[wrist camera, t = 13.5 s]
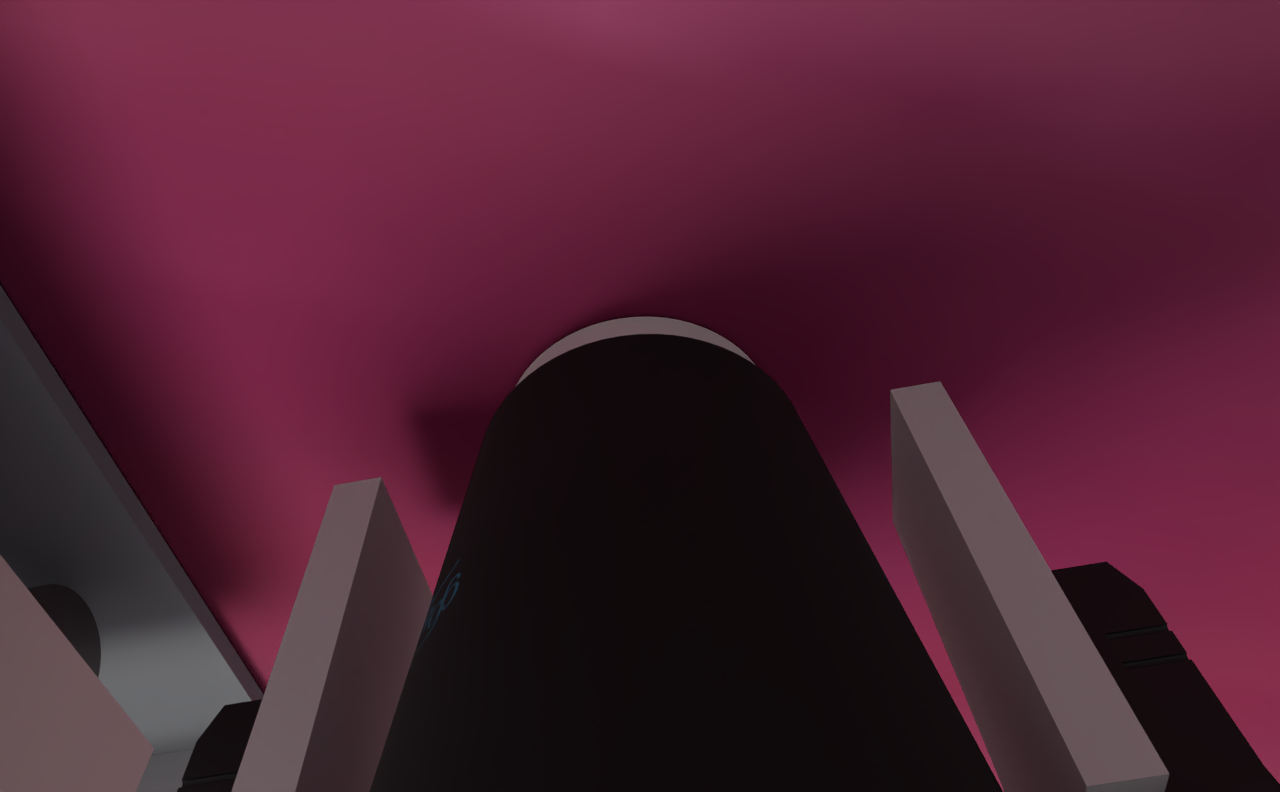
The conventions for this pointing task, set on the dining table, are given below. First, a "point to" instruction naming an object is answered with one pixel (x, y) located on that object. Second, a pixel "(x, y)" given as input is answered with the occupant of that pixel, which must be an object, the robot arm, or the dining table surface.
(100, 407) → the dining table surface
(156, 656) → the track
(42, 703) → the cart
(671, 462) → the dixie cup
